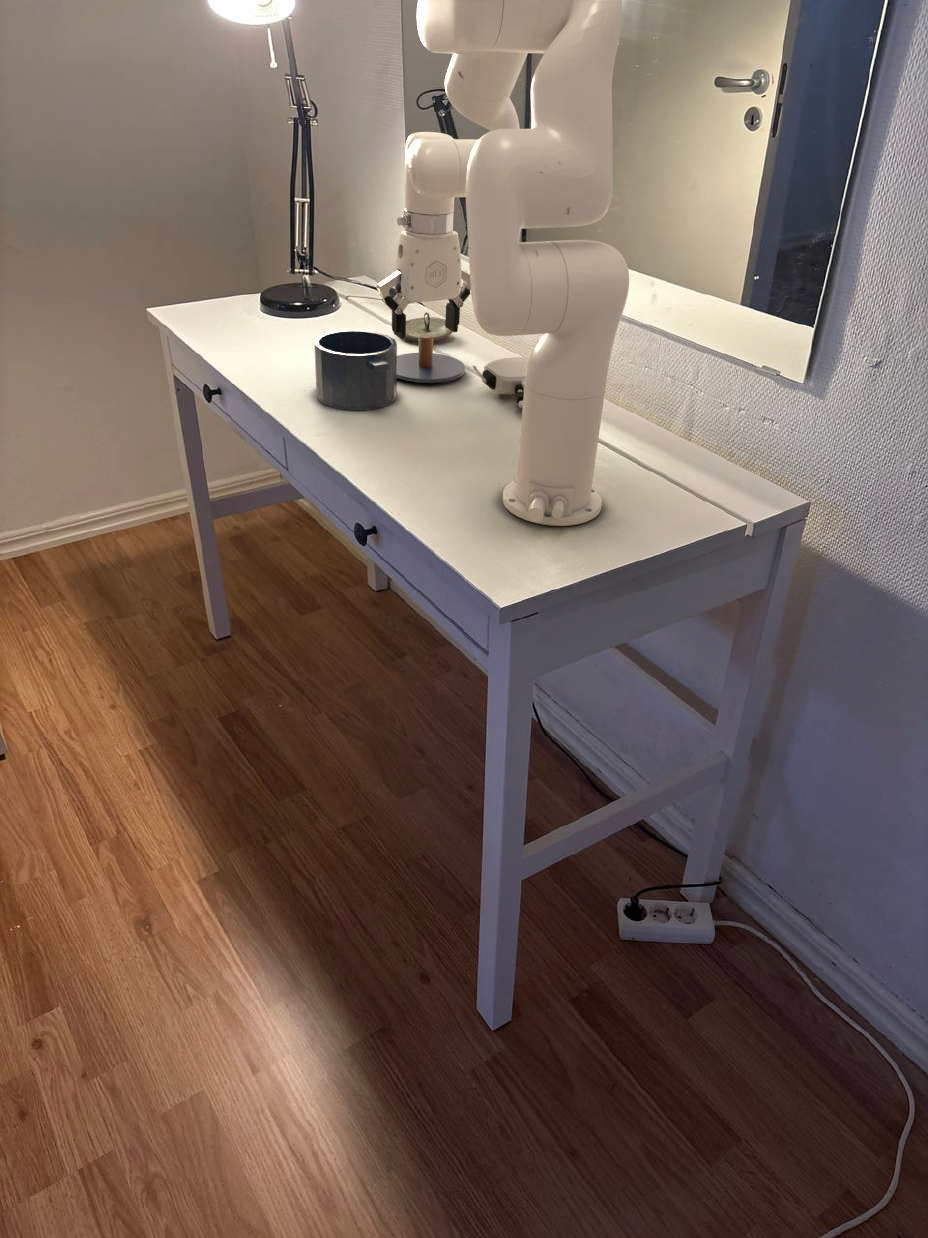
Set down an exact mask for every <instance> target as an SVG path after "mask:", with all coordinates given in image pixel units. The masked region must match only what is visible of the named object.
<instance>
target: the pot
mask: <svg viewBox="0 0 928 1238" xmlns="http://www.w3.org/2000/svg"><path fill="white" fill-rule="evenodd" d="M313 343H314V344H313V345H314V346H313V347H314V348H313V349H314V366H315V368H314V369H315V370H314V371H315V372H314V373H315V392H316V398H317V400H318V401H319V402H320V403H321V404H323V405H325V406H328V407H330V408H333V409H337V410H344V411H371V410H376V409H378V410H379V409H381V408H385V407H387V406H389V405H391V404H393V403H394V402H395V401H396V399H397V393H398V392H397V388H398V387H397V386H398V385H397V384H398V383H397V382H398V380H397V379H398V378H397V356H398V344H397V341H396V339H394V338H393V337H391V336H390V335H388V334H385V333H382V332H377V331H371V330H364V329H362V330H361V329H345V330H339V329H333V330H325V331H324V334H321V335H318V336H317V337H316V338H315V339H314V342H313Z"/></svg>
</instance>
